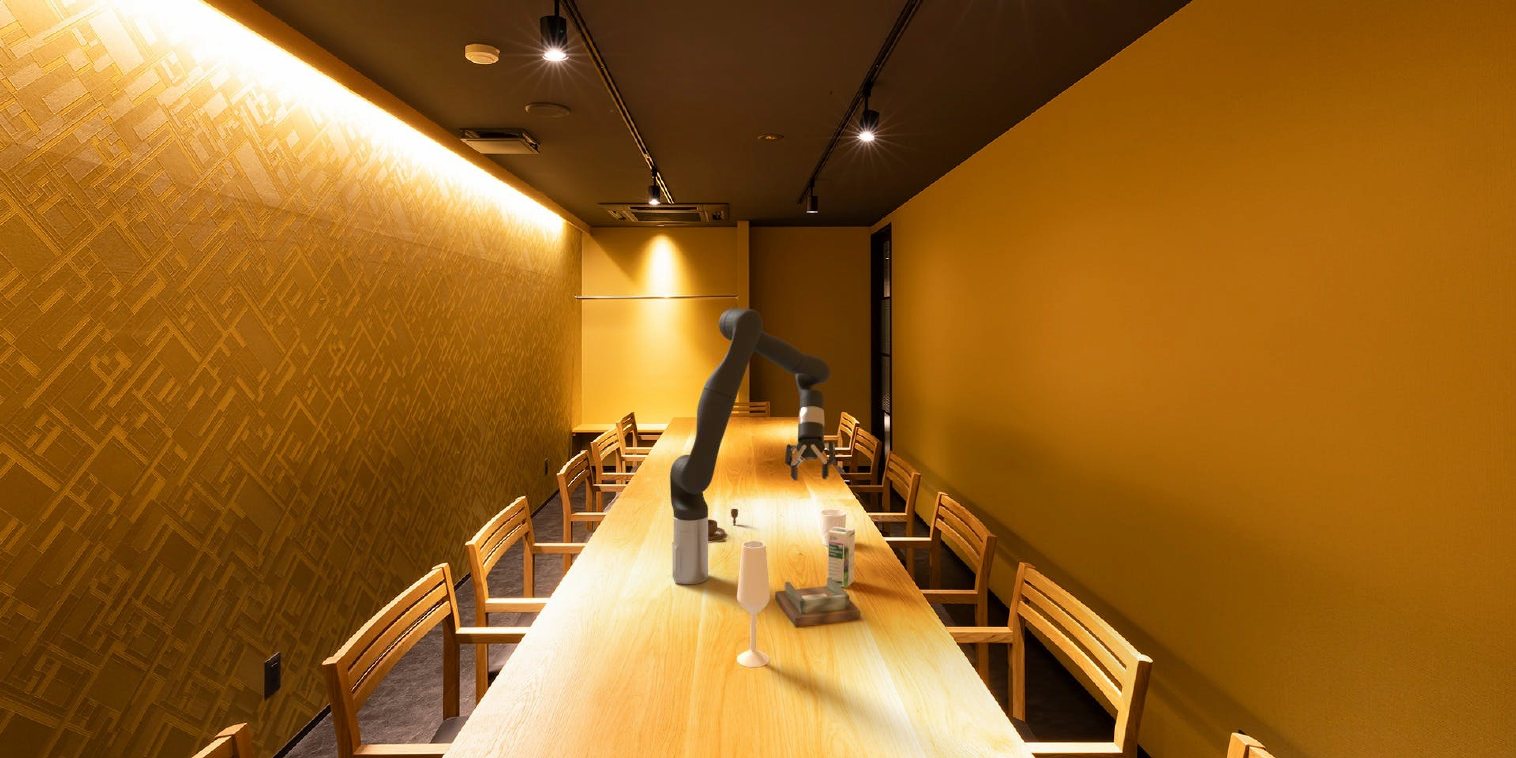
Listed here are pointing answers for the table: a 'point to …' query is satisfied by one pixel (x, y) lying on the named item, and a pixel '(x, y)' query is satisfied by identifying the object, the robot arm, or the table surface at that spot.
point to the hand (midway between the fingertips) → (809, 479)
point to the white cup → (831, 522)
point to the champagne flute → (753, 595)
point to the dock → (817, 604)
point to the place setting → (713, 528)
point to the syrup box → (841, 555)
